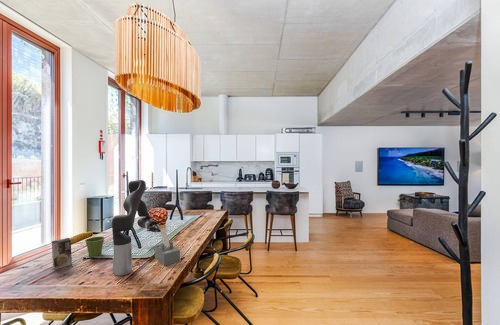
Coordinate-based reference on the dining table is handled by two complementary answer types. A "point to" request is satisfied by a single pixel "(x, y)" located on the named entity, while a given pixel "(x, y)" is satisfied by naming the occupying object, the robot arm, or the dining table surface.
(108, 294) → the dining table surface
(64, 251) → the coffee box
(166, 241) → the breaker lever
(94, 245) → the plant pot
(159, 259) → the box
